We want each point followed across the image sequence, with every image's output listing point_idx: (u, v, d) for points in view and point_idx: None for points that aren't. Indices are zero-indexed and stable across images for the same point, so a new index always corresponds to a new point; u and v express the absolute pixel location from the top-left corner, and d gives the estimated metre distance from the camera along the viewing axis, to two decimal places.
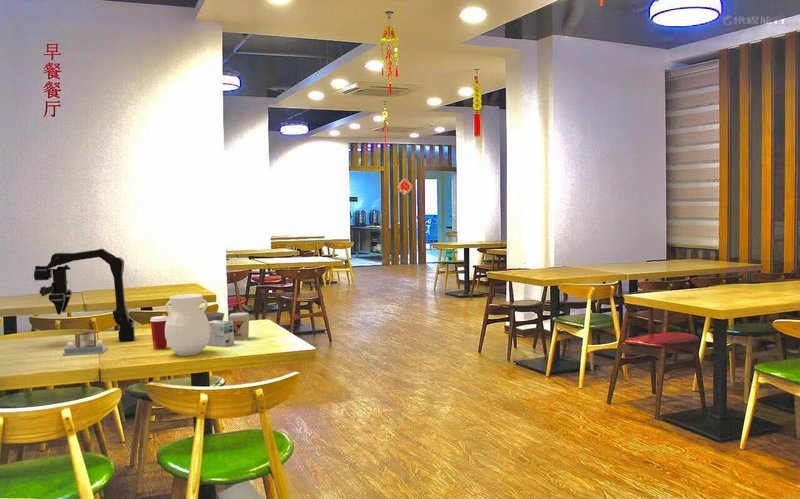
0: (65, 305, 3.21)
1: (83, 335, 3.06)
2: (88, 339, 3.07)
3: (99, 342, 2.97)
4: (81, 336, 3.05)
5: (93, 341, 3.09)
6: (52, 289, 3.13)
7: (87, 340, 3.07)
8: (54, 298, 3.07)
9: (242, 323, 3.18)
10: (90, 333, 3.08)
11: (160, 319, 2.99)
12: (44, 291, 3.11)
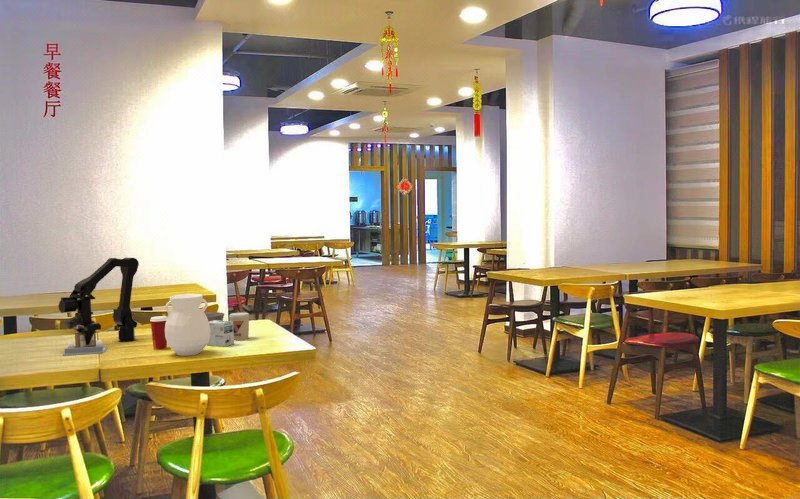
0: None
1: (83, 335, 3.06)
2: None
3: (99, 342, 2.97)
4: (81, 336, 3.05)
5: (93, 341, 3.09)
6: (81, 320, 3.04)
7: None
8: (93, 328, 3.01)
9: (242, 323, 3.18)
10: None
11: (160, 319, 2.99)
12: (76, 323, 3.01)
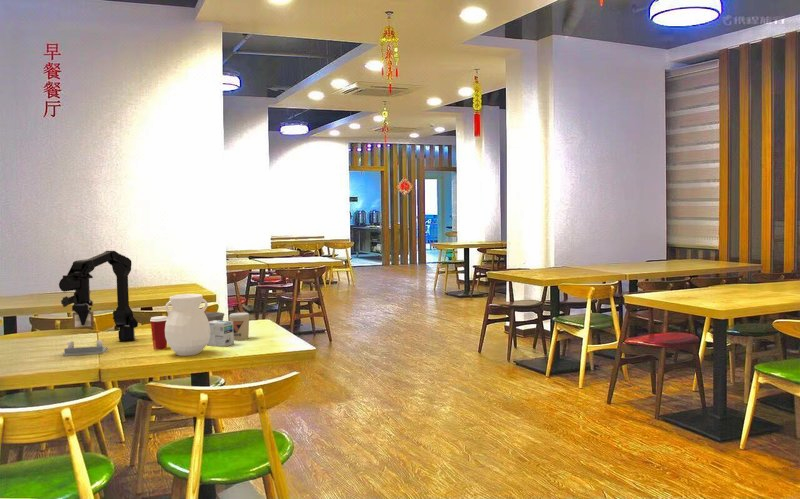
0: None
1: (78, 315, 2.96)
2: None
3: (99, 342, 2.97)
4: (76, 315, 2.96)
5: (90, 322, 2.98)
6: (75, 299, 2.94)
7: None
8: (78, 309, 2.89)
9: (242, 323, 3.18)
10: None
11: (160, 319, 2.99)
12: (66, 301, 2.92)
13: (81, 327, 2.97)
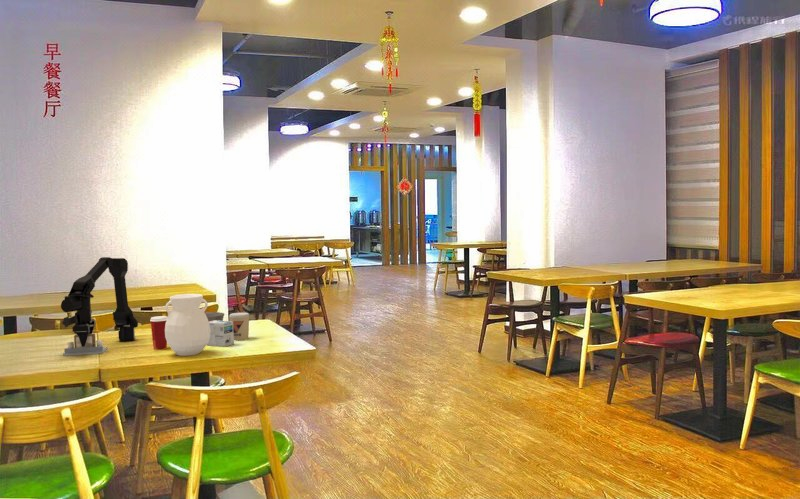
0: None
1: None
2: None
3: (99, 342, 2.97)
4: (78, 338, 2.95)
5: (91, 344, 2.96)
6: (76, 319, 2.93)
7: None
8: (78, 330, 2.87)
9: (242, 323, 3.18)
10: (88, 336, 2.96)
11: (160, 319, 2.99)
12: (67, 322, 2.91)
13: None
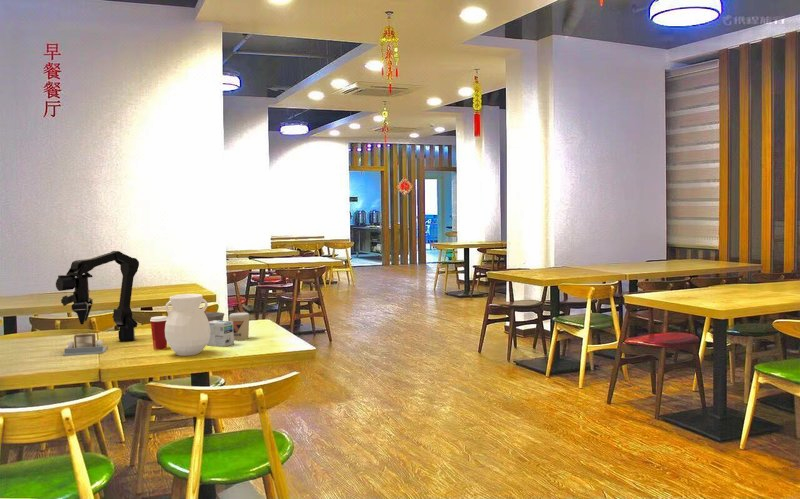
0: (87, 314, 3.10)
1: (80, 337, 2.95)
2: (85, 341, 2.96)
3: (99, 342, 2.97)
4: (78, 338, 2.95)
5: (91, 344, 2.96)
6: (74, 298, 3.02)
7: (84, 342, 2.96)
8: (77, 308, 2.96)
9: (242, 323, 3.18)
10: (88, 336, 2.96)
11: (160, 319, 2.99)
12: (66, 300, 3.00)
13: None
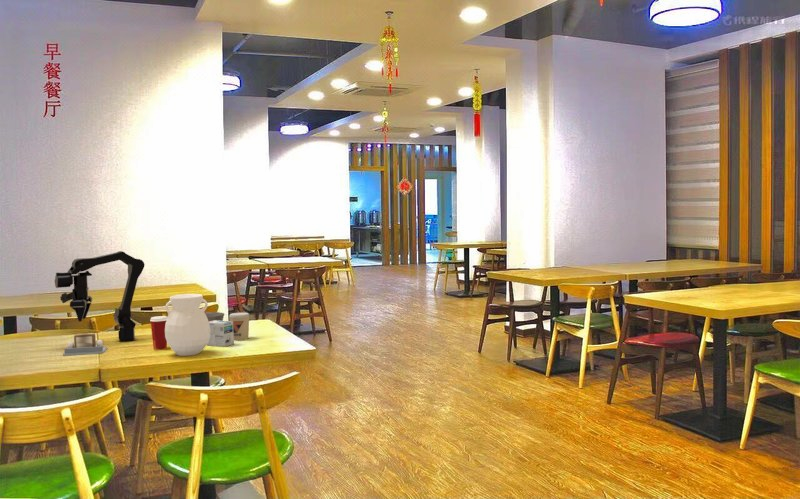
0: (86, 312, 3.16)
1: (80, 337, 2.95)
2: (85, 341, 2.96)
3: (99, 342, 2.97)
4: (78, 338, 2.95)
5: (91, 344, 2.96)
6: (73, 296, 3.08)
7: (84, 342, 2.96)
8: (75, 305, 3.02)
9: (242, 323, 3.18)
10: (88, 336, 2.96)
11: (160, 319, 2.99)
12: (65, 298, 3.06)
13: None
